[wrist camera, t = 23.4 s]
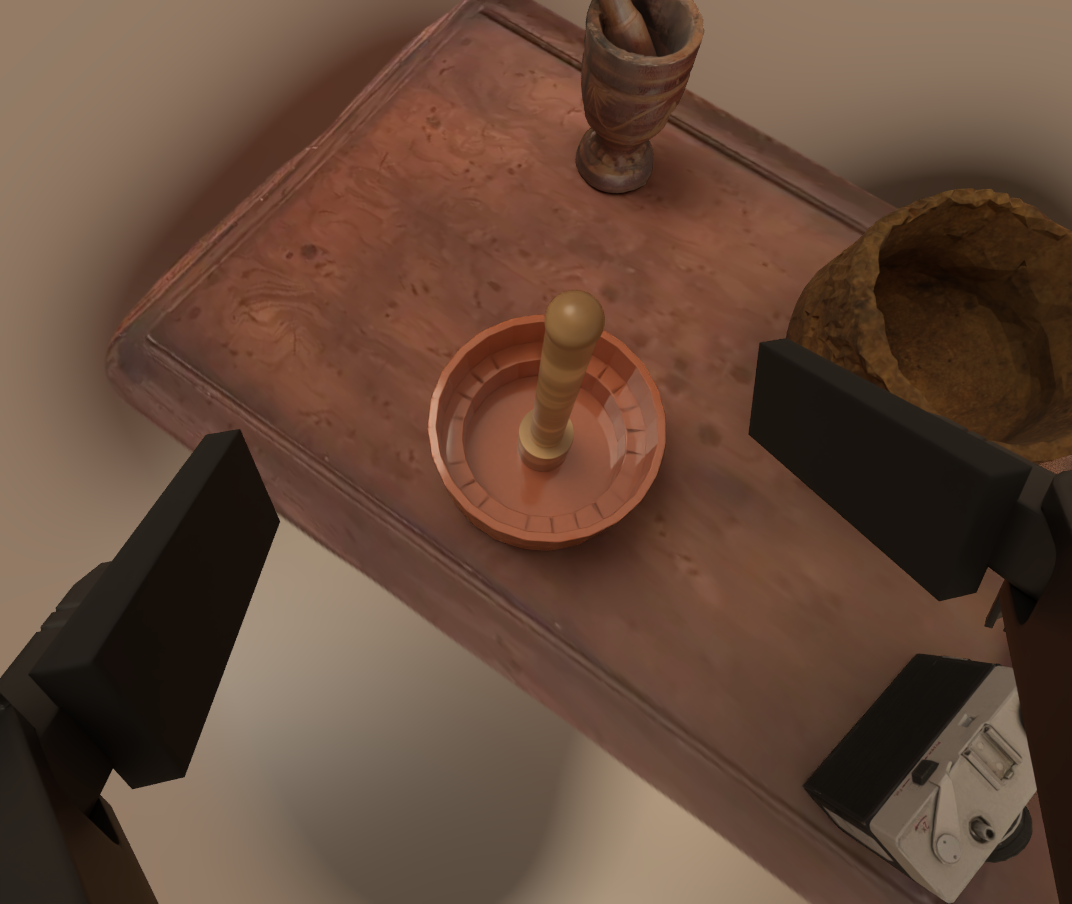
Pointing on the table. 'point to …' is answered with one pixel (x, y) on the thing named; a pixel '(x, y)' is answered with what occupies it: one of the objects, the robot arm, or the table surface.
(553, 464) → the muddler
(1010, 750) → the camera
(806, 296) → the bowl
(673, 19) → the mortar and pestle
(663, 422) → the mixing bowl
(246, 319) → the table surface
